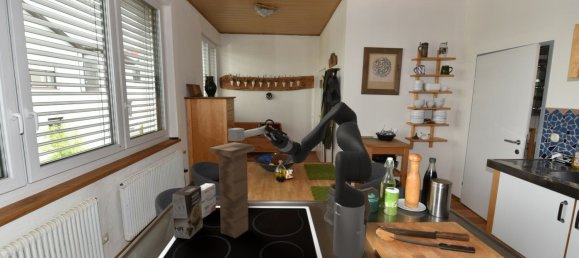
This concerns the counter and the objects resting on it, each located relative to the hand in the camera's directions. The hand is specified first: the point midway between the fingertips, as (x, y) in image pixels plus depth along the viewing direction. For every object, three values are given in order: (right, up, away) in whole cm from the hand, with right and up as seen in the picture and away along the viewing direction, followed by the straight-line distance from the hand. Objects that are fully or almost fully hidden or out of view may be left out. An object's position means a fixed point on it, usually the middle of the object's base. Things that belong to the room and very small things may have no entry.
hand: (262, 126), depth 108 cm
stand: (-9, -39, -10) cm, 41 cm away
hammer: (-4, -4, -6) cm, 8 cm away
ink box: (-25, -37, +5) cm, 45 cm away
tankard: (+35, -38, -1) cm, 52 cm away
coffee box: (-26, -39, -10) cm, 48 cm away
